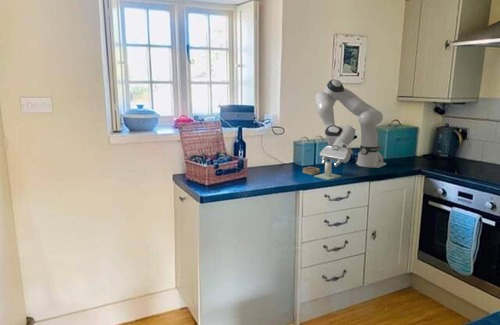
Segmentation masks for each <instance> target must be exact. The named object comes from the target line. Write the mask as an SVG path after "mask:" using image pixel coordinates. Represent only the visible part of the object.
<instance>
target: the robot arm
mask: <svg viewBox="0 0 500 325" xmlns="http://www.w3.org/2000/svg"><path fill="white" fill-rule="evenodd" d="M314 101H315V107H316V111H317V113H318V115H319V116H320V119H321V120H322V122H323V124H324V126H325V130H324V133H325V138H326V141H327V144H328V145H326V146H324V147H323V148H322V150H321V151H320V152H319V156H320V158H321V159H322V160H321V164H322V165H325V162H326V160H328V161H329V160H331V161H335V162H334V164H333V167H335V168H337V167H338V166H339V165H340V164H341V163H344V164H346V163H348V162H349V160H350V159H351V157H352V154H353V150H352V149H351V146H350V144H351V143H352V142H353V140H354V137H355V136H356V130H355V128H354V127H353V126H351V125H349V124H346V125H342V126H341V125H336V124H335V116H334V115H335V114H334V113H335V111H334V106H335V104H336V102H337V101H338V102H340V104H341V105H343V107H344V108H346V109H347V110H348V111H349V112H351V113H352V114H353V115H355V116H356V117H358V123H359V125H360V133H361V138H360V146H359V152H358V154H357V161H356V162H355V164H356V165H357V166H359V167H364V168H376V169H377V168H381V167H384V166H386V165H387V163H386V162H384V156H383V155H382V154H381V153H380V152H379V150H380V149H381V145H378V144H379V143H378V140H379V134H378V131H377V126H379V124H381V123H382V121H383V120H384V115H383V113H382V112H381V111H380V110H378V109H376V108H375V107H374V106H372V105H371V104H369V103H367V102H366V101H364V100H363V99H362V98H360V97H359V96H358V95H357V94H355V93H354V92H353V91H351V90H350V89H348V88H346V87H344V85H343V83H342V82H341V81H340V80H337V79H330V80H329V81H328V82H327V84H326V86H325V88H324V90H323V91H320V92H318V93H316V95H315V97H314Z"/></svg>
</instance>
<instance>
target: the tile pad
mask: <svg viewBox="0 0 500 325" xmlns="http://www.w3.org/2000/svg"><path fill="white" fill-rule="evenodd" d="M313 177H314V178H317V179H318V178H319V179H322V180H326V181H330V180H333V179H335V180H336V179H338V178H341V177H342V175H340V174H339V175H338V174H335V173H331V176H330V177H327V176H325V172H324V173H318V174H314V175H313Z"/></svg>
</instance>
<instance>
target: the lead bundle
mask: <svg viewBox="0 0 500 325" xmlns="http://www.w3.org/2000/svg"><path fill="white" fill-rule="evenodd" d="M332 164H333V162H331V161H329V160H327V161H325V164H324V173H325V176H327V177H330V176H331V174H332V167H333V166H332Z"/></svg>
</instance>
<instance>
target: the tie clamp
mask: <svg viewBox="0 0 500 325" xmlns="http://www.w3.org/2000/svg"><path fill="white" fill-rule="evenodd" d="M320 172H321V169H320V168H318V167H315V166H307V167H302V173H303V174H307V175H311V176H312V175H313V176H314V175H319V174H321V173H320Z"/></svg>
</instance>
